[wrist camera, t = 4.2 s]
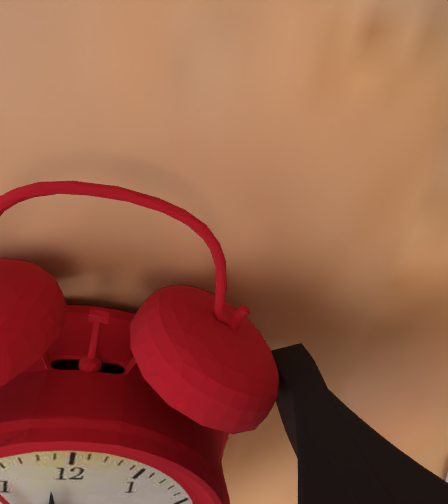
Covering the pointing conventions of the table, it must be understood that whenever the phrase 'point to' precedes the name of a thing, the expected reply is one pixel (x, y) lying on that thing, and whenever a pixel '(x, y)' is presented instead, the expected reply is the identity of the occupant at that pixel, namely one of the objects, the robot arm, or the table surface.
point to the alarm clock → (123, 382)
